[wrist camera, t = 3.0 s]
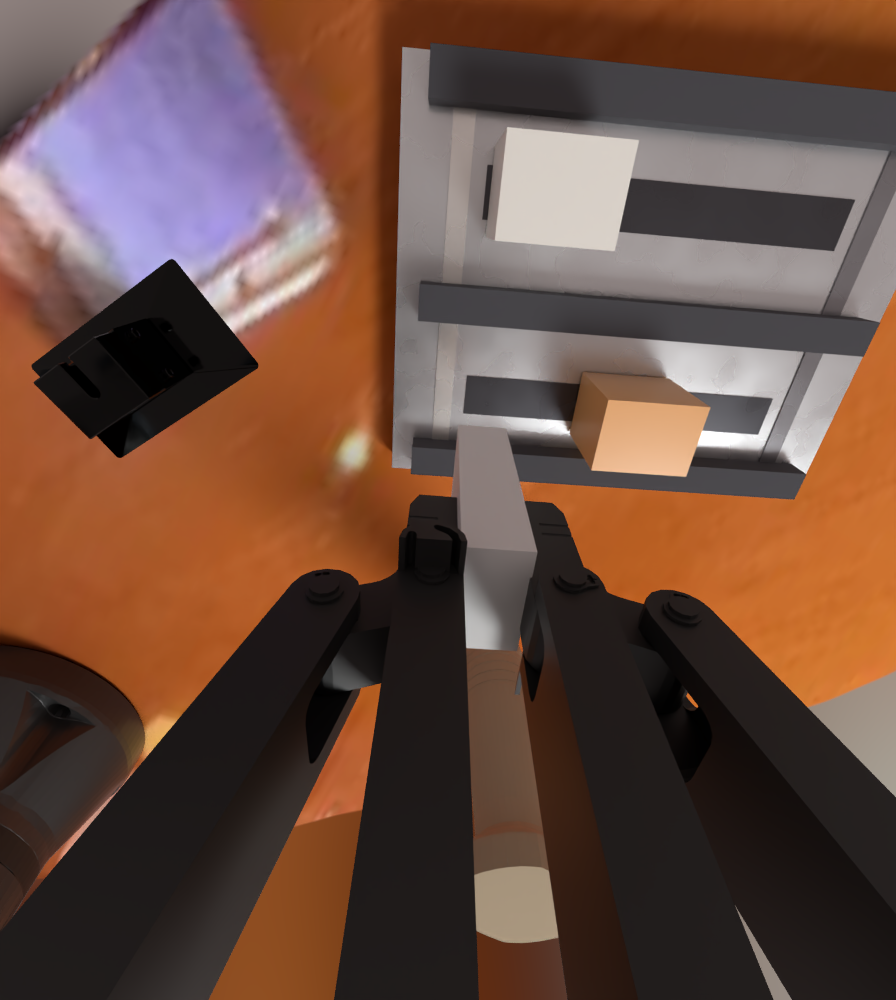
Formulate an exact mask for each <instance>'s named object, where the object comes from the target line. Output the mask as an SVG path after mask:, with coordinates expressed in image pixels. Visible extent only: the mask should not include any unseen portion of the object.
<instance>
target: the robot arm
mask: <svg viewBox="0 0 896 1000" xmlns="http://www.w3.org/2000/svg"><path fill="white" fill-rule="evenodd" d="M520 634H521V641H522V647H523V653H522V658H521V662H520V667H519V672H518V676H517V681H516V686H515V694H514V695H520V691H521V686H522V690H523V697H524V703H525V710H526V717H527V724H528V731H529V738H530V745H531V752H532V759H533V765H534V772H535V779H536V786H537V793H538V800H539V807H540V814H541V820H542V827H543V834H544V841H545V848H546V855H547V862H548V869H549V876H550V882H551V889H552V896H553V903H554V910H555V917H556V924H557V931H558V938H559V944H560V951H561V958H562V965H563V972H564V979H565V985H566V993H567V999H568V1000H773V998H772V995H771V993H770V990H769V988H768V985H767V983H766V980H765V978H764V976H763V973H762V971H761V968H760V966H759V963H758V961H757V958H756V956H755V953H754V951H753V949H752V946H751V944H750V941H749V939H748V936H747V934H746V931H745V929H744V926H743V924H742V922H741V919H740V917H739V914H738V912H737V910H736V907H737V909H738V911H739V912H740V914H741V916H742V917H743V919H744V921H745V922H746V924H747V926H748V927H749V929H750V930H751V932H752V934H753V936H754V937H755V939H756V941H757V942H758V944H759V946H760V947H761V949H762V950H763V952H764V954H765V955H766V957H767V959H768V961H769V962H770V964H771V966H772V967H773V969H774V971H775V972H776V974H777V976H778V977H779V979H780V981H781V982H782V984H783V986H784V987H785V989H786V990H787V992H788V994H789V995H790V997H791V999H792V1000H896V797H895V796H894V795H893V794H892V793H891V792H890V791H889V790H888V789H887V788H886V787H885V786H884V785H883V784H882V783H881V782H880V781H879V780H878V779H877V778H876V777H875V776H874V775H873V774H872V773H871V772H870V771H869V770H868V769H867V768H866V767H865V766H864V765H863V764H862V763H861V762H860V761H859V759H858V758H856V756H855V755H854V754H853V753H852V752H851V751H850V750H849V749H848V748H847V747H846V746H845V745H843V743H842V742H841V741H840V740H839V739H838V738H837V737H836V736H835V735H834V734H833V733H832V732H831V731H830V730H829V729H828V728H827V727H826V726H825V725H824V724H823V723H822V722H821V721H820V720H819V719H818V718H817V717H816V716H815V715H814V714H813V713H812V712H811V711H810V710H809V709H808V708H807V707H806V706H805V704H804V703H803V702H802V701H801V700H800V699H799V698H798V697H797V696H796V695H795V694H794V693H793V692H792V691H791V690H790V689H789V688H788V687H787V686H786V685H785V684H784V683H783V682H782V681H781V680H780V679H779V678H778V677H777V676H776V675H775V674H774V673H773V672H772V671H771V670H770V669H769V668H768V667H767V666H766V665H765V664H764V663H763V662H762V661H761V660H760V659H759V658H758V657H757V656H756V655H755V654H754V653H753V652H752V651H751V650H750V649H749V647H748V646H747V645H746V644H745V643H744V642H743V641H742V640H741V639H740V638H739V637H738V636H737V635H736V634H735V633H734V632H733V631H732V630H731V629H730V628H729V627H728V626H727V625H726V624H725V623H724V622H723V621H722V620H721V619H720V618H719V617H718V616H717V615H716V614H715V613H714V612H713V611H712V610H711V609H710V608H709V607H708V606H706V605H705V604H704V603H703V602H701V601H700V600H698V599H696V598H694V597H692V596H690V595H688V594H685V593H682V592H678V591H674V590H659V591H655V592H652V593H651V594H650V595H649V596H648V597H647V598H646V600H645V603H644V604H641V603H637V602H634V601H630V600H627V599H623V598H620V597H617V596H615V595H612V594H610V593H608V592H607V591H606V589H605V586H604V584H603V583H602V581H601V580H600V578H599V577H598V576H597V575H596V574H594V573H593V572H592V571H590V570H589V569H587V568H584V567H583V564H582V561H581V559H580V556H579V553H578V551H577V548H576V545H575V543H574V540H573V537H571V532H570V529H569V528H568V524H567V521H566V519H565V516H564V514H563V513H562V512H561V511H560V510H559V509H558V508H557V507H556V506H555V505H554V504H553V503H546V502H532V501H524V497H523V493H522V490H521V486H520V482H519V478H518V474H517V470H516V466H515V462H514V458H513V454H512V450H511V446H510V442H509V438H508V435H507V431H506V428H495V427H482V426H469V425H458V431H457V442H456V453H455V463H454V474H453V485H452V495H451V497H443V496H430V495H419V496H418V497H417V498H416V499H415V500H414V501H413V502H412V503H411V504H410V510H409V518H408V524H407V528H405V529H404V530H403V531H402V533H401V535H400V537H399V560H398V570H397V571H396V572H395V573H394V574H393V575H391V576H390V577H388V578H386V579H383V580H381V581H377V582H373V583H368V584H362V585H359V583H358V581H357V580H356V579H355V578H354V577H353V576H352V575H351V574H348V573H346V572H343V571H341V570H333V569H323V570H316V571H312V572H309V573H307V574H305V575H302V576H301V577H299V578H298V579H297V580H296V581H294V582H293V583H292V584H291V585H290V587H289V588H288V589H287V590H286V591H285V593H284V594H283V595H282V596H281V597H280V599H279V600H278V601H277V602H276V603H275V605H274V606H273V607H272V608H271V609H270V611H269V612H268V613H267V614H266V615H265V616H264V618H263V619H262V620H261V621H260V622H259V624H258V625H257V626H256V627H255V628H254V630H253V631H252V632H251V633H250V634H249V636H248V637H247V638H246V639H245V640H244V642H243V643H242V644H241V645H240V646H239V648H238V649H237V650H236V651H235V652H234V653H233V655H232V656H231V657H230V658H229V659H228V661H227V662H226V663H225V664H224V665H223V667H222V668H221V669H220V670H219V671H218V673H217V674H216V675H215V676H214V677H213V679H212V680H211V681H210V682H209V683H208V685H207V686H206V687H205V688H204V689H203V691H202V692H201V693H200V694H199V695H198V696H197V698H196V699H195V700H194V701H193V702H192V704H191V705H190V706H189V707H188V708H187V710H186V711H185V712H184V713H183V714H182V716H181V717H180V718H179V719H178V720H177V722H176V723H175V724H174V725H173V726H172V728H171V729H170V730H169V731H168V732H167V733H166V735H165V736H164V737H163V738H162V739H161V741H160V742H159V743H158V744H157V745H156V747H155V748H154V749H153V750H152V751H151V753H150V754H149V755H148V756H147V757H146V759H145V760H144V761H143V762H142V763H141V765H140V766H139V767H138V768H137V769H136V770H135V772H134V773H133V774H132V775H131V776H130V778H129V779H128V780H127V781H126V779H127V778H128V776H129V774H130V773H131V771H132V769H133V767H134V766H135V764H136V762H137V760H138V759H139V757H140V755H141V753H142V751H143V748H144V744H145V732H144V728H143V724H142V722H141V719H140V718H139V716H138V714H137V712H136V711H135V709H134V708H133V707H132V705H131V704H130V703H129V702H128V701H127V699H126V698H125V697H124V696H123V695H122V694H121V693H119V692H118V691H117V690H116V689H115V688H114V687H112V686H111V685H110V684H108V683H107V682H106V681H104V680H103V679H101V678H100V677H98V676H96V675H95V674H93V673H91V672H90V671H88V670H86V669H84V668H82V667H80V666H78V665H76V664H73V663H71V662H69V661H66V660H64V659H61V658H58V657H55V656H53V655H49V654H46V653H42V652H39V651H35V650H30V649H25V648H19V647H12V646H2V645H0V1000H208V999H209V997H210V995H211V993H212V991H213V989H214V987H215V985H216V983H217V981H218V979H219V977H220V975H221V973H222V971H223V969H224V967H225V965H226V963H227V961H228V959H229V957H230V955H231V953H232V951H233V949H234V947H235V945H236V943H237V941H238V939H239V937H240V934H241V933H242V931H243V929H244V926H245V924H246V922H247V920H248V918H249V916H250V914H251V912H252V910H253V908H254V906H255V904H256V902H257V900H258V898H259V896H260V894H261V892H262V890H263V888H264V886H265V884H266V882H267V880H268V877H269V876H270V874H271V872H272V870H273V868H274V866H275V864H276V862H277V860H278V858H279V856H280V853H281V851H282V849H283V847H284V845H285V843H286V841H287V839H288V837H289V835H290V833H291V831H292V829H293V827H294V825H295V823H296V821H297V819H298V817H299V815H300V813H301V811H302V809H303V807H304V805H305V803H306V801H307V799H308V797H309V795H310V793H311V791H312V789H313V787H314V785H315V783H316V781H317V779H318V776H319V774H320V772H321V770H322V768H323V766H324V764H325V762H326V760H327V758H328V756H329V754H330V752H331V750H332V748H333V746H334V744H335V742H336V740H337V738H338V736H339V734H340V732H341V730H342V728H343V726H344V724H345V722H346V720H347V718H348V716H349V714H350V712H351V710H352V708H353V706H354V704H355V702H356V699H357V697H358V695H359V693H360V689H361V688H362V687H367V686H371V685H375V684H380V683H381V689H380V696H379V702H378V709H377V716H376V722H375V729H374V736H373V742H372V749H371V756H370V763H369V769H368V776H367V783H366V789H365V796H364V803H363V809H362V817H361V823H360V830H359V836H358V843H357V850H356V857H355V863H354V870H353V876H352V883H351V890H350V897H349V903H348V910H347V917H346V923H345V930H344V937H343V943H342V950H341V957H340V963H339V971H338V977H337V984H336V990H335V997H334V1000H479V992H478V963H477V935H476V907H475V879H474V851H473V824H472V795H471V767H470V739H469V711H468V683H467V655H466V648H474V649H490V650H506V651H517V649H518V644H519V639H520ZM687 693H689V694H690V696H691V697H692V698H693V700H694V701H695V702H696V703H697V705H698V708H696V707H695V706H694V705H693V704H692V703H691V702H690V701H689V700H688V698H687V697H686V695H687ZM125 781H126V782H125ZM124 782H125V784H124V785H123V783H124ZM122 785H123V786H122ZM121 786H122V787H121ZM120 787H121V788H120ZM119 788H120V790H119V791H118V789H119ZM116 791H118V792H117V793H116V794H115V796H114V797H113V798H112V799H111V800H110V802H109V803H108V804H107V805H106V806H105V807H104V809H103V810H102V811H101V812H100V813H99V815H98V816H97V817H96V818H95V819H94V821H93V822H92V823H91V824H90V825H89V827H88V828H87V829H86V830H85V831H84V833H83V834H82V835H81V836H80V837H79V839H78V840H77V841H76V842H75V843H74V845H73V846H72V847H71V848H70V849H69V850H68V852H67V853H66V854H65V855H64V856H63V858H62V859H61V860H60V861H59V862H58V864H57V865H56V866H55V867H54V868H53V870H52V871H51V872H50V873H49V874H48V876H47V877H46V878H45V879H44V880H43V882H42V883H41V884H40V885H39V887H38V888H37V889H36V890H35V891H34V892H33V894H32V895H31V896H30V897H29V898H28V900H27V901H26V902H25V903H24V904H23V906H22V907H21V908H20V909H19V910H18V911H17V913H16V914H15V915H14V913H15V912H16V910H17V909H18V907H19V905H20V903H21V902H22V900H23V899H24V897H25V895H26V894H27V892H28V891H29V889H30V887H31V886H32V884H33V883H34V881H35V879H36V878H37V876H38V875H39V873H40V871H41V870H42V868H43V867H44V865H45V864H46V862H47V861H48V860H49V859H50V858H51V857H52V856H53V855H54V854H55V852H56V851H57V850H58V849H59V848H60V847H61V846H62V845H63V844H64V843H65V842H66V841H67V840H68V839H69V838H70V837H71V836H72V835H73V834H75V833H76V832H77V831H78V830H79V829H80V828H81V826H82V825H83V824H84V823H85V822H86V821H87V820H88V819H89V818H90V817H91V816H92V815H93V814H94V813H95V812H96V811H97V810H98V809H99V808H100V807H101V806H102V805H103V804H104V802H105V801H106V800H107V799H108V798H109V797H111V796H112V795H113V794H114V793H115V792H116ZM735 906H736V907H735ZM13 915H14V916H13ZM11 918H12V919H11Z"/></svg>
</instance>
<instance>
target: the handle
mask: <svg viewBox="0 0 896 1000" xmlns="http://www.w3.org/2000/svg"><path fill="white" fill-rule="evenodd" d="M466 655H467V683H468V711H469V739H470V767H471V789H472V798H473V809H474V819H475V837H473V851H474V879H475V907H476V931H478V932H480V933H482V934H485V935H487V936H490V937H492V938H495V939H497V940H500V941H502V942H510V943H526V942H536V941H544V940H549V939H553V938H557V937H558V931H557V924H556V917H555V910H554V903H553V896H552V889H551V882H550V876H549V869H548V862H547V855H546V848H545V841H544V834H543V827H542V820H541V814H540V807H539V800H538V793H537V786H536V779H535V772H534V765H533V759H532V752H531V745H530V738H529V731H528V724H527V717H526V710H525V703H524V697H523V690H522V686H521V691H520V695H514V694H515V686H516V681H517V676H518V672H519V667H520V662H521V658H522V652H521V650H520V647H519V645H518V649H517V651H506V650H490V649H474V648H466Z"/></svg>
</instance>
